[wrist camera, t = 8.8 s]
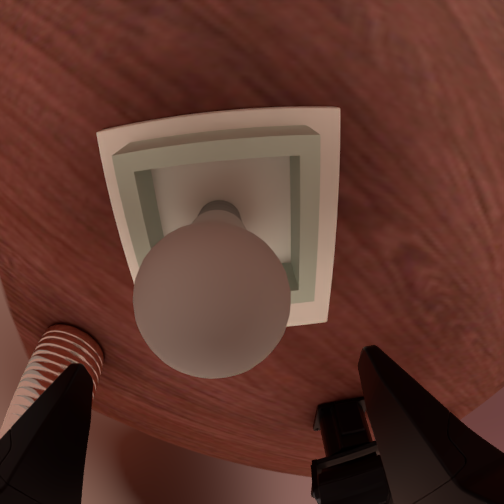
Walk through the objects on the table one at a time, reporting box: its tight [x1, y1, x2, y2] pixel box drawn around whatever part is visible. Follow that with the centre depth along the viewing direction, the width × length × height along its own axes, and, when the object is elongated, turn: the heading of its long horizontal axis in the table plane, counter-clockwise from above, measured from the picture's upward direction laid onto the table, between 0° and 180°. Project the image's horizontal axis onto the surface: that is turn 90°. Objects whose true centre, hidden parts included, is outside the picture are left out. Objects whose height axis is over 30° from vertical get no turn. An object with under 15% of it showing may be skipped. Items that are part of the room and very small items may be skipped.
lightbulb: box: [133, 200, 291, 378], centre depth 14 cm, size 6×6×11 cm
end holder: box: [96, 106, 340, 327], centre depth 19 cm, size 16×14×4 cm
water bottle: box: [0, 324, 104, 439], centre depth 15 cm, size 7×7×25 cm
